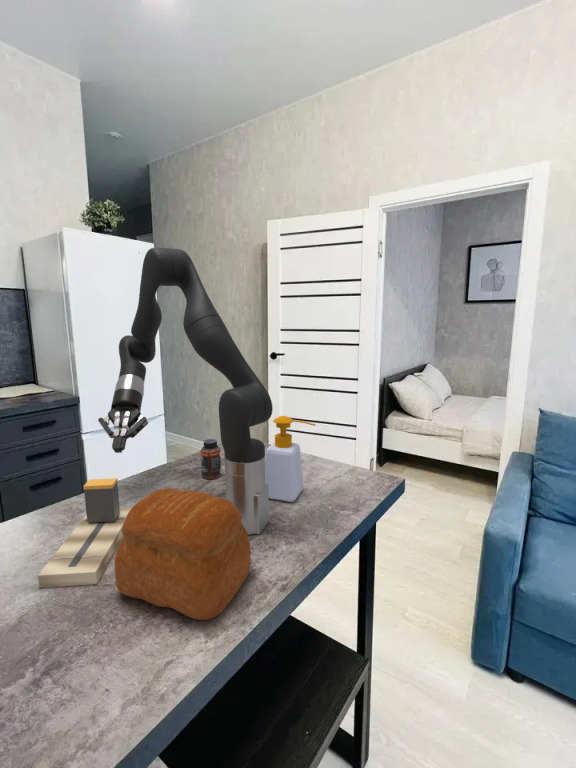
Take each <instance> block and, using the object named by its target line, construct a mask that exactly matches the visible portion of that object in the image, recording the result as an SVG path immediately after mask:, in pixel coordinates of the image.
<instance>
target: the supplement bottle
mask: <svg viewBox="0 0 576 768" xmlns="http://www.w3.org/2000/svg"><path fill="white" fill-rule="evenodd" d="M200 463H201V464H200V466H201V468H200V469H201V477H202V478H203V479H206V480H215V479H218V478H220V477H221V476H222V456H221V448H220V446H218V440H217V439H215V438H207V439H205V440H203V446H202V447H201V449H200Z"/></svg>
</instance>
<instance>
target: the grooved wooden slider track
mask: <svg viewBox="0 0 576 768" xmlns="http://www.w3.org/2000/svg"><path fill="white" fill-rule="evenodd" d="M119 508H120V507H119ZM131 509H132V507H124V508H120V514H119V516H118V517H117V519H116V521H111V522H91V523H87V514H85V516H84V517H83V518H82V520H80V522H78V524H77V526H76V527H75V528H74V529H73V531H72V532H71V533H70V535H68V536H67V538H66V539H65V540H64V542H63V543H62V544H61V546H60V547H59V549H58V550H57V551H55V553H54V555H53V556H52V557H51V558H50V560H49V561H48V562H47V563H46V565H45V566H44V567H43V569H42V570H41V571H40V572H39V574H38V575H37V578H38V586H39V589H40V588H42V589H45V588H54V587H55V588H56V587H58V588H59V587H73V586H86V585H88V586H90V585H97V584H98V582H99V581H100V579H101V577H102V575H103V574H104V572H105V570H106V569H107V566H108V564H110V563H109V562H110V561H111V559H112V558H113V555H114V553H116V551H117V549H118V547H119V545H120V542H121V540H122V537H123V533H122V527H123V523H124V521H125V519H126V516H127V514H128V513H129V511H130V510H131Z"/></svg>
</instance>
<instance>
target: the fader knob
mask: <svg viewBox="0 0 576 768" xmlns="http://www.w3.org/2000/svg"><path fill="white" fill-rule="evenodd" d="M118 482H119V481H118V477H117V478H114V477H113V478H93V479H91V478H90V479H89V480H88V481H86V483H85V484H84V485H83V494H84V502H85V511H86V512H85V513H86V514H87V523H91V522H111V521H116V519H117V517H118V516H119V514H120V499H119V498H120V497H119V487H118V486H119V484H118ZM86 514H85V515H86Z"/></svg>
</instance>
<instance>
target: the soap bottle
mask: <svg viewBox="0 0 576 768" xmlns="http://www.w3.org/2000/svg"><path fill="white" fill-rule="evenodd" d="M273 423H275V427H276V428H278V429H279V431H280V432H278V433H276V434H275V435H274V442H273V443H272V444H271V445H269V446H268V447H267V449H265V484H267V485H268V486H269V499H271V500H277V501H283V502H289V503H291V502H295V501H296V500H297V498H298V496H299V495H300V494H301V492H302V491H303V489H304V480H303V466H302V457H301V456H302V455H301V447H300V444H299V443H297V442H296V443H295V442H292V441H293V440H292V439H293V438H292V437H293V435H292V434H291V433H288V432H287V429H289V428H290V427H291V424H292V423H300V424H301V423H302V424H306V425H310V426H314V427H316V425H317V424H316V423H312V422H310V421H303V420H297V419H293V418H292V417H289V416H287V415H281V416H278V417H275V418H274V419H273Z"/></svg>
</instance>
